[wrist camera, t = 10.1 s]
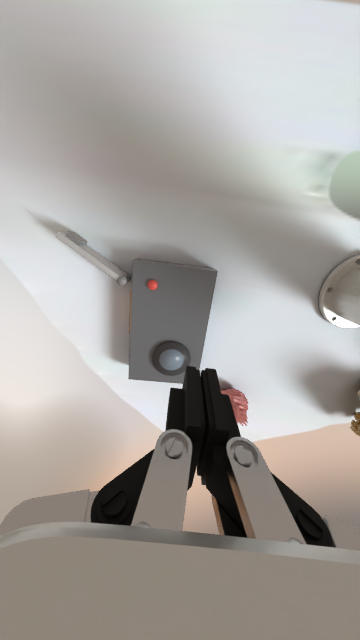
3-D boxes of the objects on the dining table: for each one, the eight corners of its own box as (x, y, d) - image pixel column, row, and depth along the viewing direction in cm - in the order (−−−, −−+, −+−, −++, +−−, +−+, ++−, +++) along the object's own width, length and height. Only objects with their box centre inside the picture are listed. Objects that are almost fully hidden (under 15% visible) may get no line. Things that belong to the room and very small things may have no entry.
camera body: (212, 268, 32) (218, 271, 28) (194, 371, 39) (196, 386, 35) (135, 258, 31) (129, 260, 27) (131, 366, 38) (126, 381, 34)
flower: (264, 402, 35) (245, 424, 32) (254, 418, 40) (236, 438, 38) (229, 371, 39) (209, 389, 37) (224, 390, 45) (206, 406, 42)
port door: (128, 282, 32) (122, 287, 29) (68, 238, 30) (53, 237, 26) (133, 274, 32) (128, 278, 28) (73, 229, 29) (59, 227, 26)
